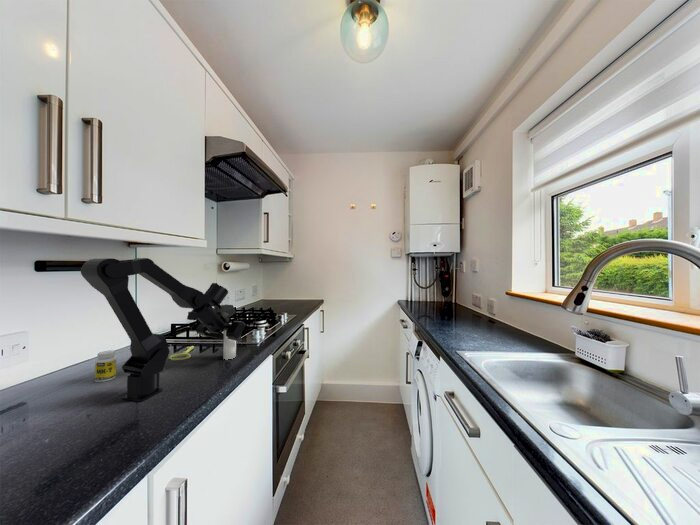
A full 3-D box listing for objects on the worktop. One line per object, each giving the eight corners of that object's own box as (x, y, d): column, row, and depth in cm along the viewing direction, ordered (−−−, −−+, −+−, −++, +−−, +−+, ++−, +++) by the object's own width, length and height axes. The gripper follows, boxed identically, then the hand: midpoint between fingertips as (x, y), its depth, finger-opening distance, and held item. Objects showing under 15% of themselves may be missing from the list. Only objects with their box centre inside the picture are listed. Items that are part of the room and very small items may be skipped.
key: (194, 350, 109) (194, 345, 109) (189, 360, 98) (189, 354, 98) (174, 352, 106) (174, 347, 106) (167, 362, 95) (167, 357, 95)
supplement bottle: (92, 383, 77) (93, 355, 77) (97, 378, 81) (97, 351, 81) (114, 380, 79) (114, 352, 80) (117, 374, 83) (118, 348, 84)
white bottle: (231, 360, 96) (231, 324, 97) (220, 359, 97) (221, 324, 97) (238, 356, 101) (238, 322, 101) (228, 355, 102) (228, 321, 102)
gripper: (242, 299, 92) (262, 324, 103) (203, 297, 99) (226, 320, 109) (224, 326, 85) (247, 349, 95) (183, 322, 91) (209, 344, 102)
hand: (232, 339), depth 100 cm, fingers open, 8 cm apart
